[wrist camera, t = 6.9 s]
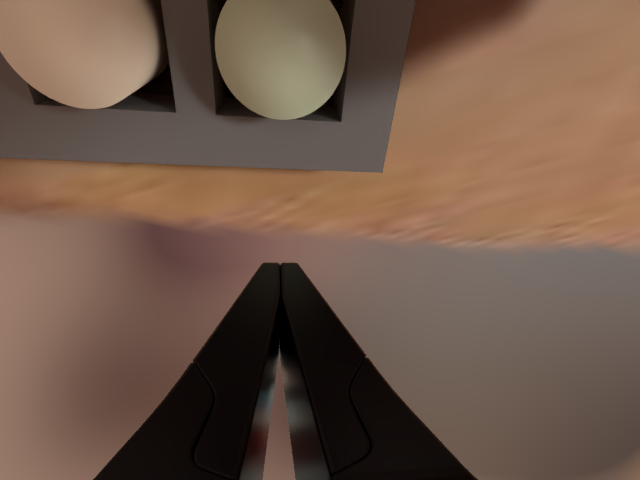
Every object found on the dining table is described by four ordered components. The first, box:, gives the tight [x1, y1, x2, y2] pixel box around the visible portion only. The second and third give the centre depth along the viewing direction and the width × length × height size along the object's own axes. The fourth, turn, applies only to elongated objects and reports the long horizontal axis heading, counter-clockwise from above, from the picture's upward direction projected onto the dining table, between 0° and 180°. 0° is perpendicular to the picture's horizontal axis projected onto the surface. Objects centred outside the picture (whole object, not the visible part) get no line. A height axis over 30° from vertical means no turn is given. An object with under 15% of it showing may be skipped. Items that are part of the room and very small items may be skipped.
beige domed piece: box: [0, 0, 169, 109], centre depth 13 cm, size 5×5×4 cm
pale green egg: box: [215, 0, 346, 120], centre depth 14 cm, size 5×5×4 cm
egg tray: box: [0, 0, 416, 173], centre depth 14 cm, size 24×10×3 cm, turn 85°
